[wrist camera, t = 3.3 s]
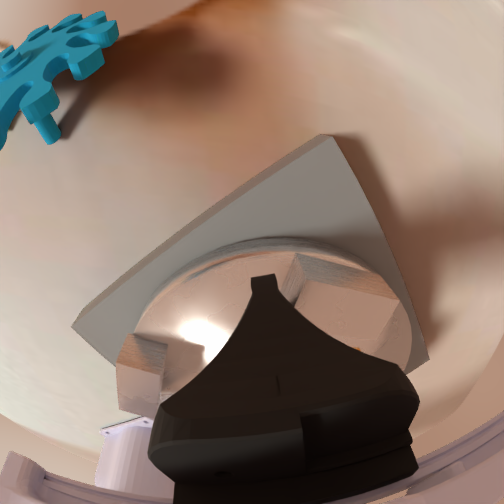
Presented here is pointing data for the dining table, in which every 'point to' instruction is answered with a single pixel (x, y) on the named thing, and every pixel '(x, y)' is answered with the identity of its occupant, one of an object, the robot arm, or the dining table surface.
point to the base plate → (260, 227)
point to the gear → (50, 68)
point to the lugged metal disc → (235, 302)
